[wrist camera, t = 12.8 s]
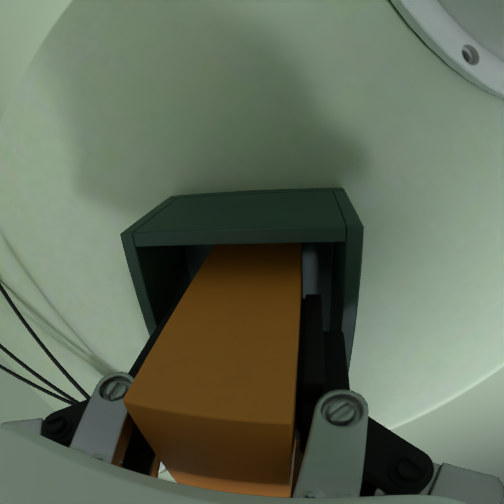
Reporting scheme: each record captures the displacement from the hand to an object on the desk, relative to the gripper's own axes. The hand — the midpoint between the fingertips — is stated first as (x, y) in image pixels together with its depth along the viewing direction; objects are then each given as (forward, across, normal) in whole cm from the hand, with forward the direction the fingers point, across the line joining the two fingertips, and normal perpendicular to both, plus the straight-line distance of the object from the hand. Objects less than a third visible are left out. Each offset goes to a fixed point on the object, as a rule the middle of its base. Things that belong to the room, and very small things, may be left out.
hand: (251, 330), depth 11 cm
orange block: (+3, 0, 0) cm, 3 cm away
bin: (+4, 0, 0) cm, 4 cm away
